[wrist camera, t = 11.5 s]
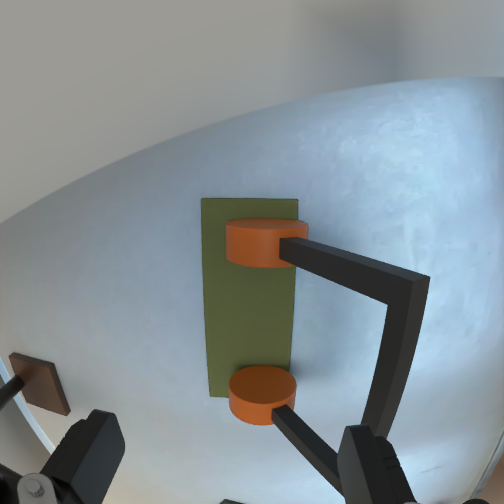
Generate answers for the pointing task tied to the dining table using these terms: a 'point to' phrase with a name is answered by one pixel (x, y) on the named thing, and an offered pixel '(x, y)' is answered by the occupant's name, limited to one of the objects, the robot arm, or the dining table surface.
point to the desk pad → (244, 295)
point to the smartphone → (229, 502)
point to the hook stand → (33, 390)
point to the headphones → (346, 274)
